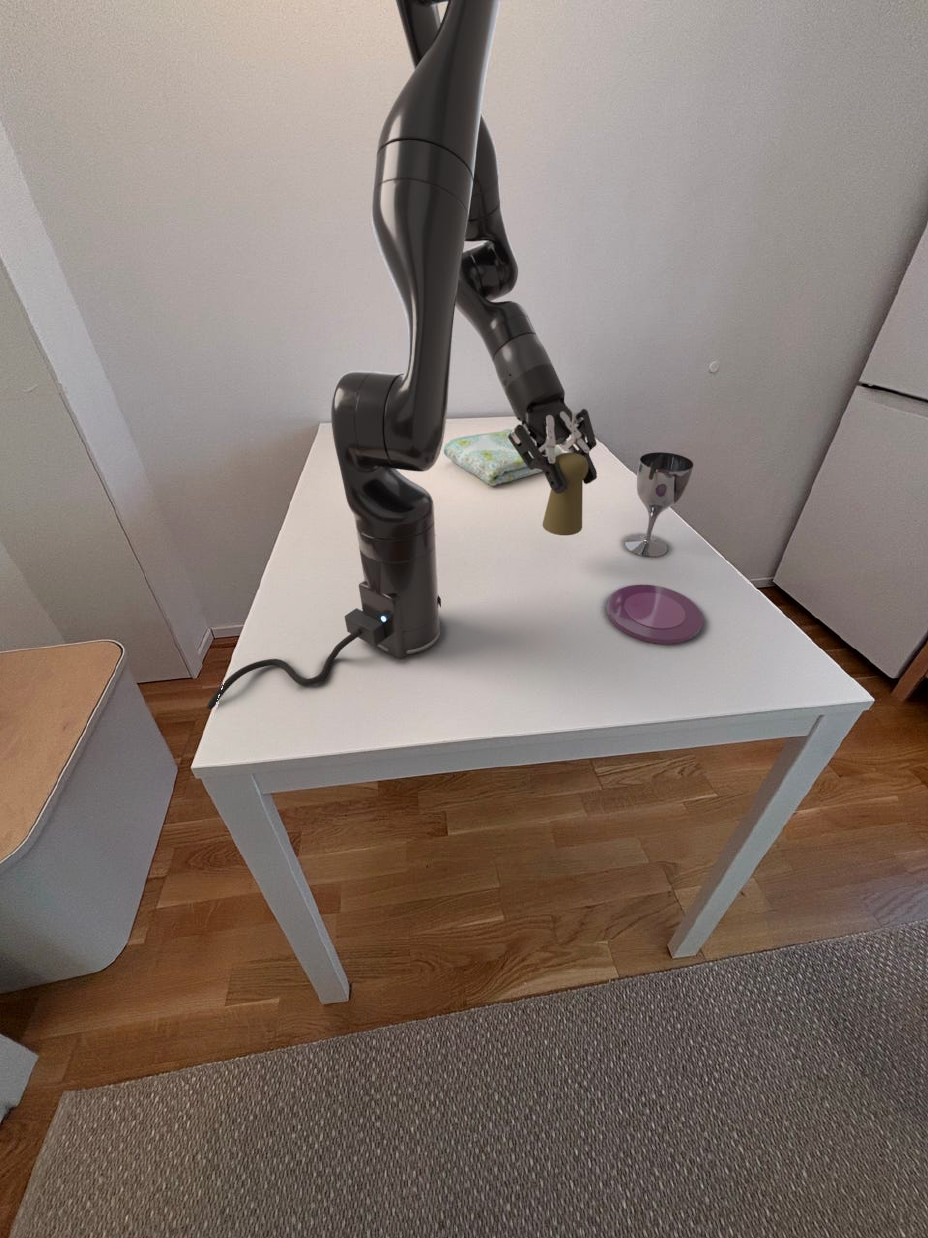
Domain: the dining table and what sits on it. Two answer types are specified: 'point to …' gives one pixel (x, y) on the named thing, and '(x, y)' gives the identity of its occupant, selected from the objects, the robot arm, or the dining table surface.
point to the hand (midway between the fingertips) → (577, 485)
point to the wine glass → (658, 495)
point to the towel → (490, 457)
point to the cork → (567, 497)
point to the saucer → (654, 614)
